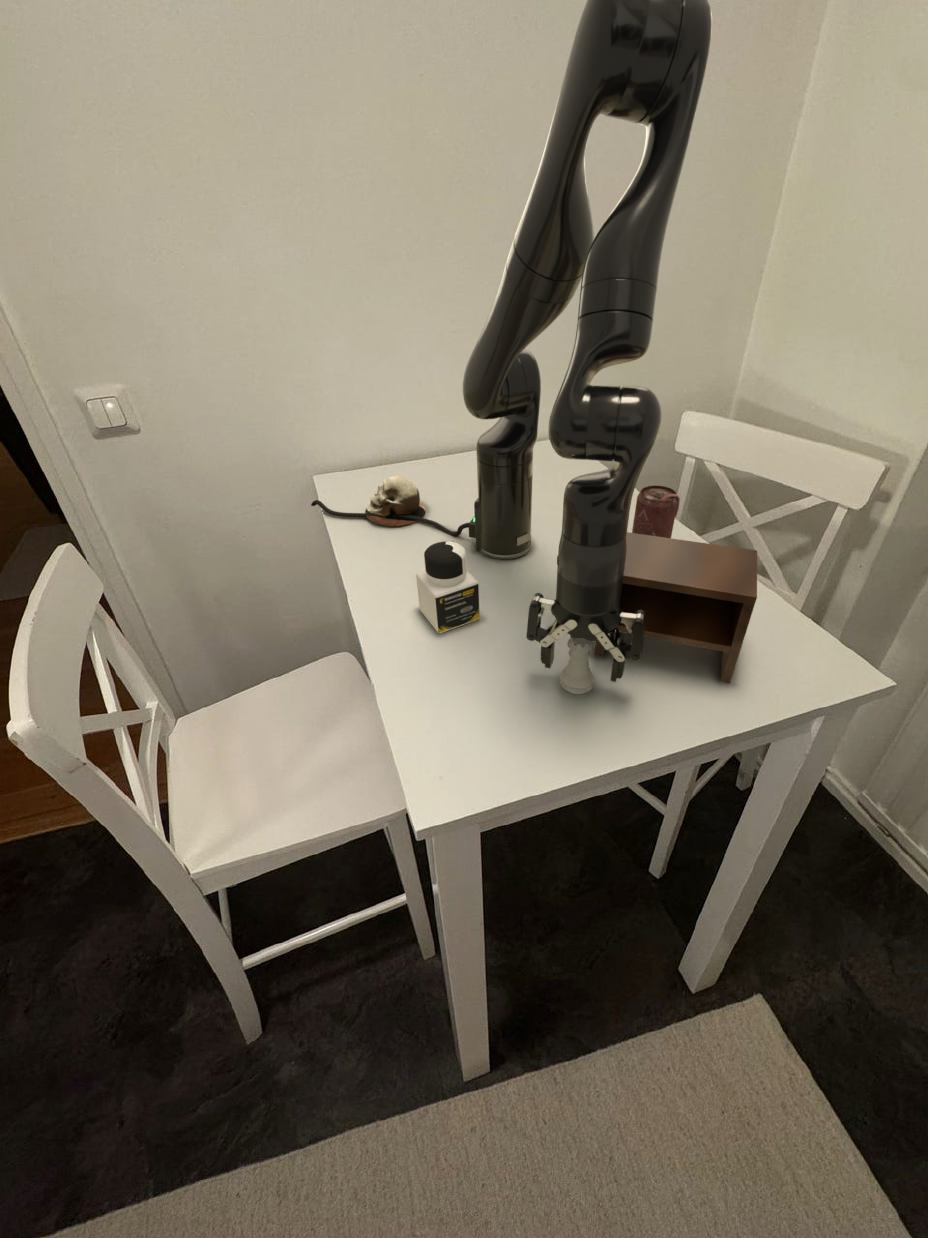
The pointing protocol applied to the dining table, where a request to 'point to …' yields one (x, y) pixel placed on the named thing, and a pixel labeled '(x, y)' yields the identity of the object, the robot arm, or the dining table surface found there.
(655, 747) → the dining table surface
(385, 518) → the skull
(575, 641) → the rook chess piece
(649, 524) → the can
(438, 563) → the medicine bottle
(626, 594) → the shelf
